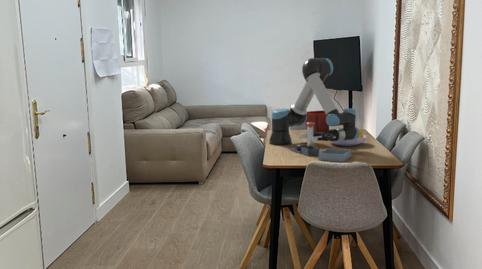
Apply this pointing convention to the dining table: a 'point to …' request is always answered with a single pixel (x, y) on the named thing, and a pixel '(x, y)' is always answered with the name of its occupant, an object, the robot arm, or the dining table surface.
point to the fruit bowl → (351, 142)
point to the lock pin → (309, 134)
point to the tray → (335, 155)
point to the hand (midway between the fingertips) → (306, 137)
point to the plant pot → (318, 121)
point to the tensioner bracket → (305, 150)
